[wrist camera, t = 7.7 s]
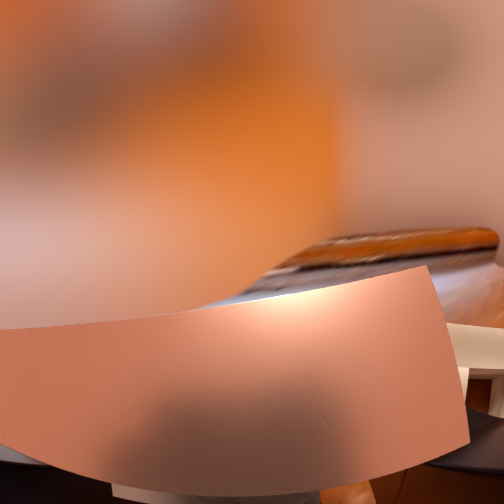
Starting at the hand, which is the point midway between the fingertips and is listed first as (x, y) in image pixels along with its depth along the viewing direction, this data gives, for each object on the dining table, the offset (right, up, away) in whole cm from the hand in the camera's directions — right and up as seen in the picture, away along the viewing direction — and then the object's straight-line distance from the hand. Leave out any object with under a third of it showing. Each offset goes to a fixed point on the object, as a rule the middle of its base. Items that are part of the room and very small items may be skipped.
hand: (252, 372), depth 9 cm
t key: (+2, -5, +5) cm, 7 cm away
